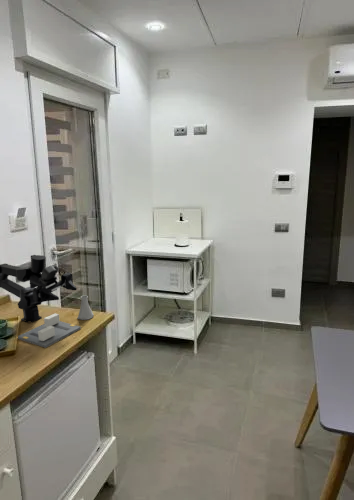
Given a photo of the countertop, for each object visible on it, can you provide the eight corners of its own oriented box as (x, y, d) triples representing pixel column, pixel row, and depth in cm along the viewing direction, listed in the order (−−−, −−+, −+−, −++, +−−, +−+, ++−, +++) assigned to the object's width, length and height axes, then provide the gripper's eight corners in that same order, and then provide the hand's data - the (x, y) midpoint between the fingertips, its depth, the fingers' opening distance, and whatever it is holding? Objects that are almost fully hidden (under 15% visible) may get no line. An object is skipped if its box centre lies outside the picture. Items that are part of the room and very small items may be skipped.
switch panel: (17, 338, 145) (17, 336, 145) (53, 321, 161) (53, 319, 161) (45, 347, 138) (45, 345, 137) (80, 328, 154) (80, 326, 154)
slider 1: (44, 326, 153) (44, 318, 153) (55, 321, 159) (54, 313, 158) (48, 327, 152) (48, 319, 152) (59, 322, 157) (58, 314, 157)
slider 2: (38, 339, 141) (38, 331, 140) (50, 333, 146) (50, 325, 145) (43, 341, 140) (42, 332, 139) (55, 335, 145) (54, 326, 144)
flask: (89, 321, 162) (88, 299, 160) (74, 319, 164) (73, 298, 161) (96, 314, 169) (95, 294, 167) (81, 313, 170) (80, 293, 168)
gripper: (20, 273, 144) (47, 286, 137) (58, 257, 158) (83, 268, 151) (24, 296, 149) (49, 310, 141) (60, 279, 163) (84, 290, 156)
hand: (67, 293), depth 147 cm, fingers open, 9 cm apart
